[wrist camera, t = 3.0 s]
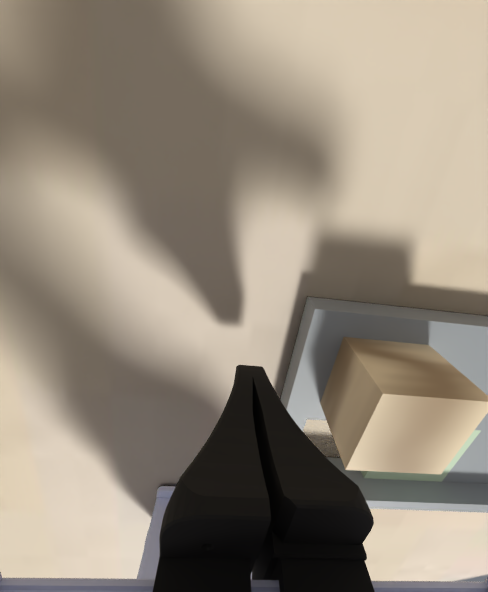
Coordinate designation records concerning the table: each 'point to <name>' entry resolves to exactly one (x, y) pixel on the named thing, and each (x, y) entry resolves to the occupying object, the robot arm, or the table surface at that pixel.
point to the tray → (408, 329)
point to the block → (399, 407)
